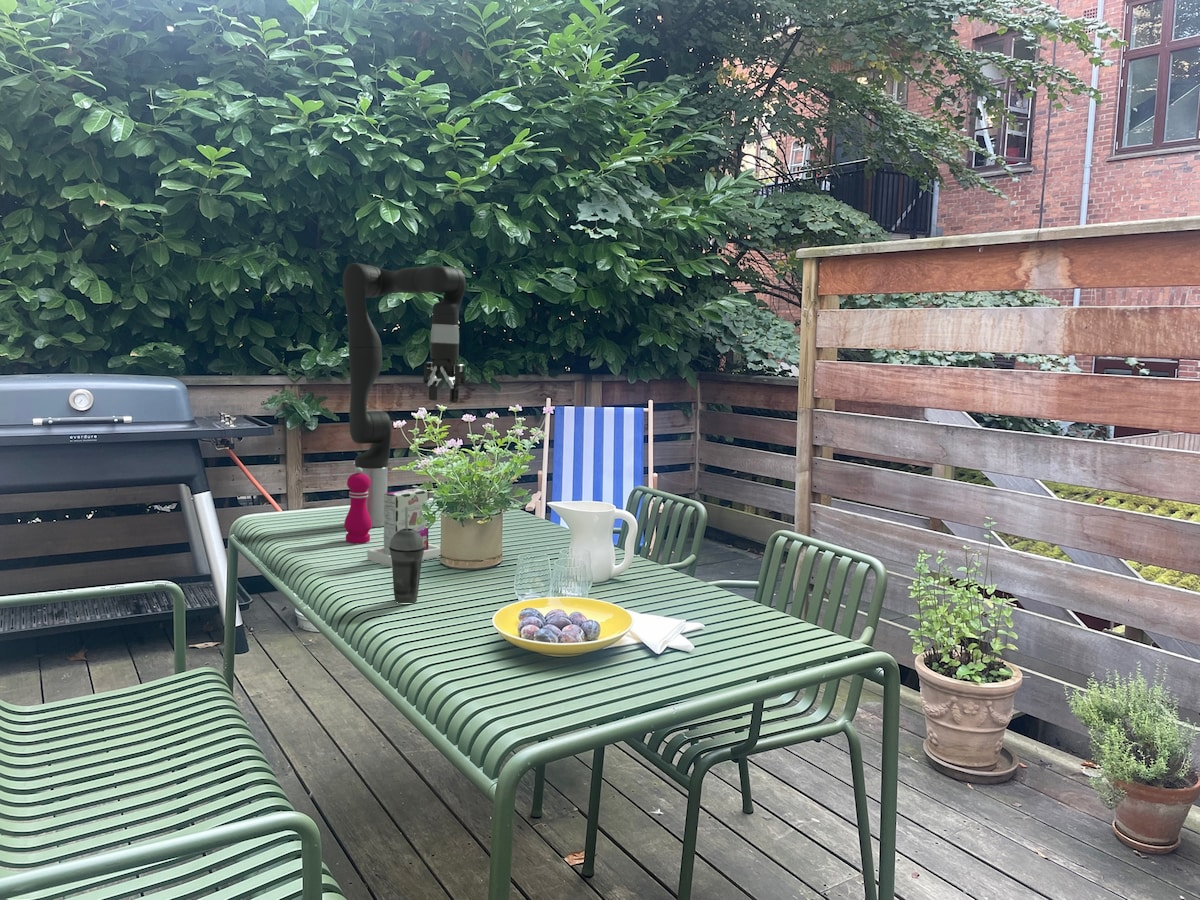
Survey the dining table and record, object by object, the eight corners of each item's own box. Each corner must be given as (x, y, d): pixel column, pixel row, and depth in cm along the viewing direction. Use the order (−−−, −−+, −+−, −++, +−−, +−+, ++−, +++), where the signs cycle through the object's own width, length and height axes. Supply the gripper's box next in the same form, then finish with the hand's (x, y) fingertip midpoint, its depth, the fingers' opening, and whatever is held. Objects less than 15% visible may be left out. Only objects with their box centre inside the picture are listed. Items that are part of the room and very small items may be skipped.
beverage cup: (392, 608, 181) (395, 512, 178) (384, 598, 187) (386, 505, 185) (427, 604, 184) (430, 510, 182) (417, 595, 190) (420, 504, 188)
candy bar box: (414, 550, 227) (416, 487, 226) (428, 553, 225) (430, 490, 223) (381, 558, 218) (383, 492, 216) (396, 561, 215) (397, 495, 213)
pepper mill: (367, 544, 234) (368, 470, 231) (340, 543, 234) (341, 468, 231) (374, 538, 241) (376, 466, 238) (348, 537, 241) (349, 464, 239)
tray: (367, 559, 218) (367, 550, 218) (418, 549, 231) (418, 540, 230) (392, 567, 212) (392, 557, 212) (443, 557, 224) (444, 547, 224)
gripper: (473, 343, 237) (471, 403, 239) (438, 341, 246) (436, 399, 248) (451, 342, 231) (450, 403, 233) (416, 340, 240) (415, 399, 242)
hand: (443, 401), depth 241 cm, fingers open, 8 cm apart
